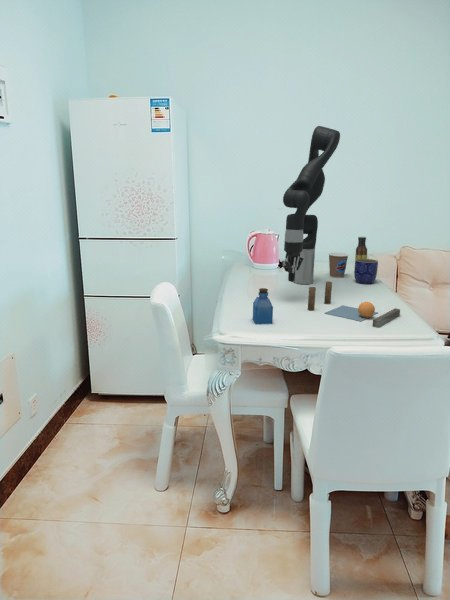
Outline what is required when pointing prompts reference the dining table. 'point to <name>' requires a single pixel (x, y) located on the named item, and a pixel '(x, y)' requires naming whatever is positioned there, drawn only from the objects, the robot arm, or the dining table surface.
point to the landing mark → (347, 313)
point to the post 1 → (311, 298)
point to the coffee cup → (337, 264)
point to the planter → (365, 270)
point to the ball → (366, 309)
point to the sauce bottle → (361, 249)
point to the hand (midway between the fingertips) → (291, 281)
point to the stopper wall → (386, 317)
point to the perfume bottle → (262, 308)
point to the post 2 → (328, 293)
